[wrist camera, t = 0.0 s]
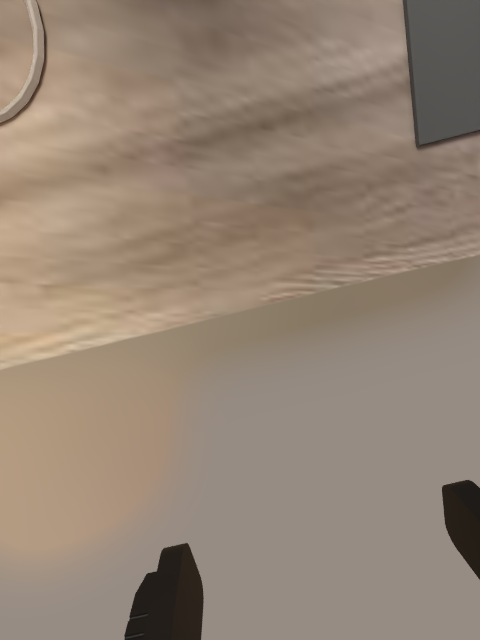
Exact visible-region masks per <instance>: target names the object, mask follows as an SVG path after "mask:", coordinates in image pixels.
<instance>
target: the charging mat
mask: <svg viewBox="0 0 480 640" xmlns="http://www.w3.org/2000/svg"><path fill="white" fill-rule="evenodd" d="M403 4H404V15H405V27H406V38H407V49H408V60H409V72H410V83H411V94H412V105H413V116H414V128H415V139H416V147H417V146H420V145H424V144H428V143H432V142H436V141H440V140H444V139H448V138H452V137H456V136H460V135H464V134H468V133H472V132H476V131H480V0H403Z"/></svg>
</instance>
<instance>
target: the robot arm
mask: <svg viewBox="0 0 480 640" xmlns="http://www.w3.org/2000/svg"><path fill="white" fill-rule="evenodd" d="M442 495H443V505H444V517H445V525H446V528H447V531H448V534H449V536H450V538H451V540H452V542H453V543H454V545H455V547H456V548H457V550H458V551H459V552H460V554H461V555H462V556H463V558H464V559H465V560H466V562H467V563H468V564H469V566H470V567H471V568H472V570H473V571H474V573H475V574H476V575H477V577H478V578H479V579H480V488H479V487H478V486H477V485H476V484H475V483H474V482H472V481H470V480H465V481H460V482H456V483H452V484H447V485H444V486H443V487H442ZM202 616H203V586H202V581H201V577H200V574H199V571H198V569H197V566H196V563H195V560H194V558H193V555H192V552H191V549H190V547H189V545H188V543H185V544H180V545H176V546H172V547H167V548H164V549H163V550H162V552H161V556H160V560H159V564H158V569H157V572H152V573H148V574H146V576H145V578H144V580H143V582H142V583H141V585H140V587H139V589H138V590H137V592H136V594H135V597H134V601H133V605H132V609H131V613H130V620H129V621H128V624H127V628H126V632H125V640H201V630H202Z"/></svg>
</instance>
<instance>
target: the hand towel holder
mask: <svg viewBox="0 0 480 640" xmlns="http://www.w3.org/2000/svg"><path fill="white" fill-rule="evenodd" d="M24 2H25V4H26V6H27V9H28V13H29V17H30V21H31V25H32V29H33V60H32V64H31V69H30V73H29V77H28V79H27V81H26V82H25V84H24V86H23V88H22V90H21V92H20V93H19V95H18V96H17V97H16V98H15V99H14V100H13V101H12V102H11V103H9V104H8V105H7V106H6V107H5V108H3V109H1V110H0V123H1V122H3V121H6V120H8V119H10V118H12V117H13V116H14V115H15V114H17V113H18V112H19V111H20V110H21V109H22V108H23V107H24V106H25V105H26V104H27V103H28V102H29V100H30V98H31V96H32V95H33V93H34V91H35V89H36V87H37V86H38V84H39V80H40V76H41V71H42V67H43V63H44V30H43V26H42V22H41V18H40V13H39V9H38V5H37V2H36V0H24Z"/></svg>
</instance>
